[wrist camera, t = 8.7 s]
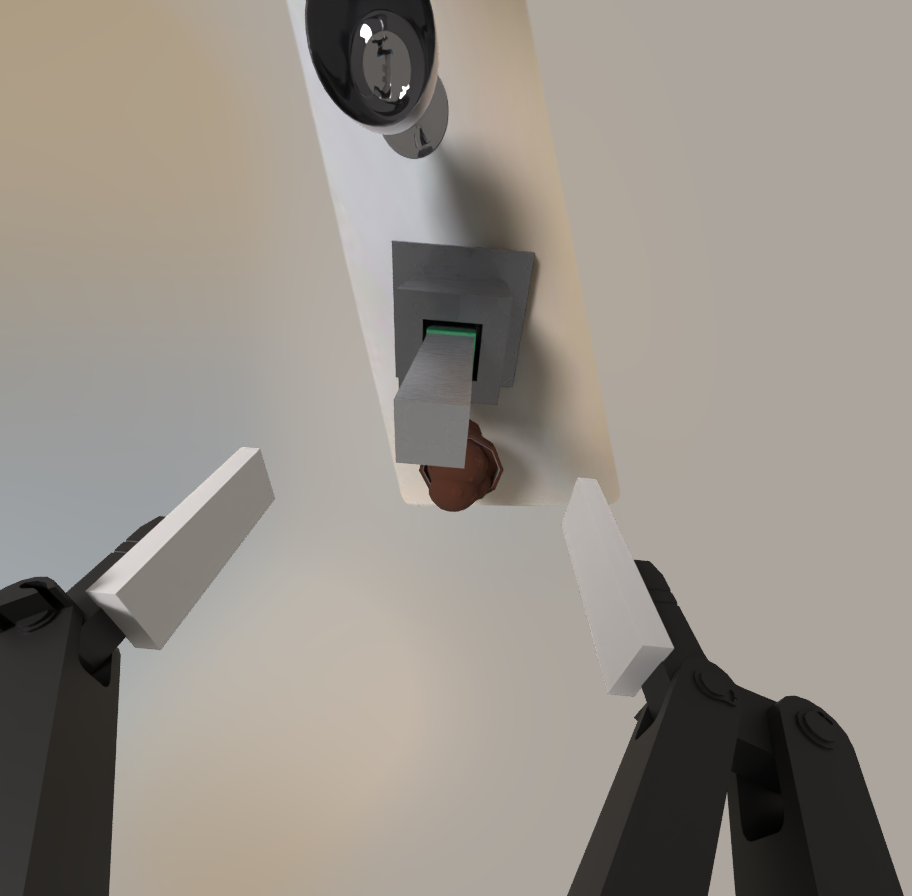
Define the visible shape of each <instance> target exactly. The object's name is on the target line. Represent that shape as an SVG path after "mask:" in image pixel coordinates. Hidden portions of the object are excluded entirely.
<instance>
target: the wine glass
mask: <svg viewBox="0 0 912 896" xmlns="http://www.w3.org/2000/svg"><path fill="white" fill-rule="evenodd" d="M305 25H306V35H307V42H308V48H309V51H310V55H311V59H312V63H313V65H314V68H315V70H316V73H317V75H318V78H319V80H320V81H321V83H322V85H323V87H324V89H325V91H326V92H327V93H328V95H329V96H330V98H331V99H332V100H333V102H334V103H335V104H336V105H337V106H338V107H339V108H340V109H341V110H342V111H343V112H344V113H345V114H346V115H347V116H348V117H349V118H351V119H352V120H353V121H355V122H356V123H357V124H359V125H360V126H362V127H363V128H365V129H368V130H370V131H372V132H375V133H379V134H382V135H383V137H384V139H385V140H386V141H387V143H388V144H389V146H390V147H391V148H392V149H393V150H394V151H396V152H397V153H398V154H400V155H402V156H404V157H408V158H420V157H424V156H426V155H428V154H429V153H431V152H432V151H433V150H434V149H435V148H436V147H437V146H438V144H439V143H440V141H441V140H442V137H443V135H444V133H445V130H446V126H447V120H448V102H447V96H446V92H445V88H444V86H443V84H442V81H441V79H440V78H439V76H438V66H439V47H438V39H437V31H436V24H435V19H434V14H433V10H432V6H431V2H430V0H306V7H305Z"/></svg>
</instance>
